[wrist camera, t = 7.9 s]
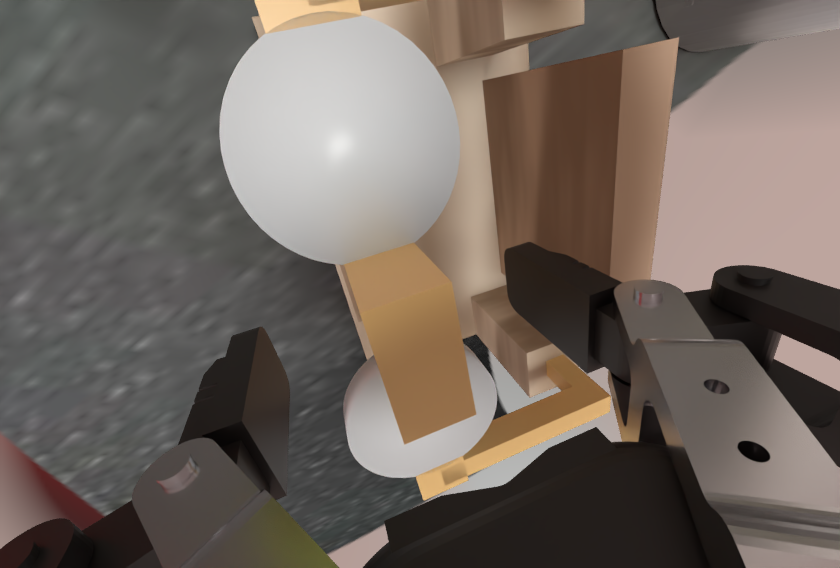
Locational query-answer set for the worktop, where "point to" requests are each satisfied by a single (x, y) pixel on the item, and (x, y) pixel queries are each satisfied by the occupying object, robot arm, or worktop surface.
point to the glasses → (378, 232)
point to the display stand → (536, 159)
